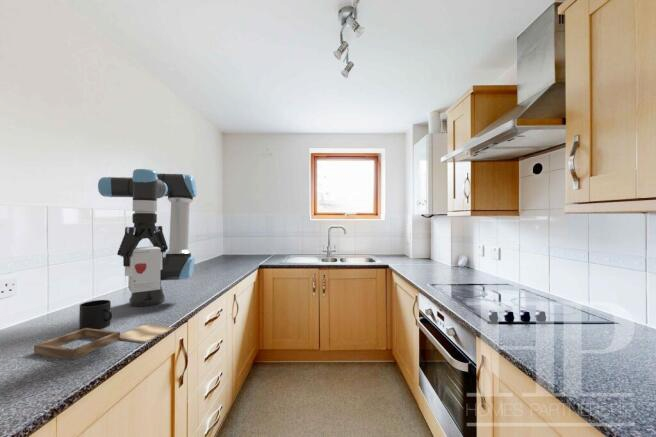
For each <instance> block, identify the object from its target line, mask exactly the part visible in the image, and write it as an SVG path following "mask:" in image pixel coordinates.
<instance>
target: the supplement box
mask: <svg viewBox="0 0 656 437" xmlns="http://www.w3.org/2000/svg"><path fill="white" fill-rule="evenodd" d="M130 257H133V276H128V284H127V285H128V287H127V288H128V289H129V290H128V291H130V293H131V294H132V293H135V292H143V291H151V290H159V289H160V265H161V248H159V247H155V246H153V245H152V246H137V247H136V248H135V250H133V253H132V255H131V256H130Z"/></svg>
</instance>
